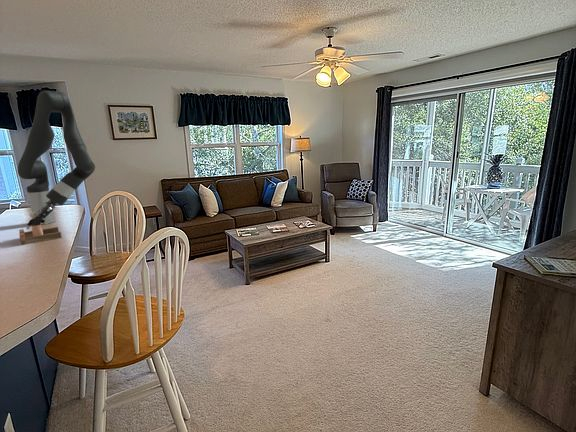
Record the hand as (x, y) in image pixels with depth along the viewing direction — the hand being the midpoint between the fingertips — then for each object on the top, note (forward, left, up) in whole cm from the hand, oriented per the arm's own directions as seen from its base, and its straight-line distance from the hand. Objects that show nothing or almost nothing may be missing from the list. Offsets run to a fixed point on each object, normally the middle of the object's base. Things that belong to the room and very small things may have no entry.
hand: (33, 223), depth 138 cm
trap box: (0, +2, -7) cm, 7 cm away
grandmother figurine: (0, +1, -7) cm, 8 cm away
